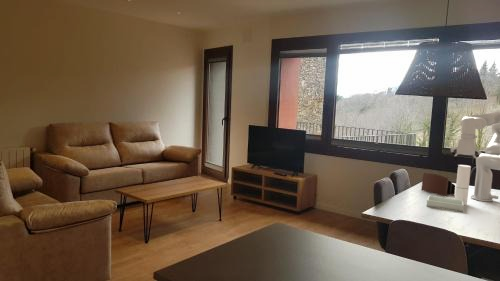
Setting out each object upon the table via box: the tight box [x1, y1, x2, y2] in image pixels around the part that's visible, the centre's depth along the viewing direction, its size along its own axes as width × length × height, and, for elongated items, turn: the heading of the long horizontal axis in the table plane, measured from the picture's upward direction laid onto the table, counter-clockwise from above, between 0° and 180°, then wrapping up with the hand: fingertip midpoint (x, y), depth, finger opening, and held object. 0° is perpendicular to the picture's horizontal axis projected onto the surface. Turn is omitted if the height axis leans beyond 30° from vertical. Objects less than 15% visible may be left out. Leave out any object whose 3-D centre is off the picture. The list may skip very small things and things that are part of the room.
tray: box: [426, 195, 465, 213], centre depth 236 cm, size 20×14×4 cm
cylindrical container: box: [454, 164, 472, 206], centre depth 243 cm, size 7×7×25 cm
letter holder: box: [421, 172, 456, 198], centre depth 272 cm, size 10×20×14 cm, turn 29°
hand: (464, 163), depth 241 cm, fingers open, 9 cm apart
